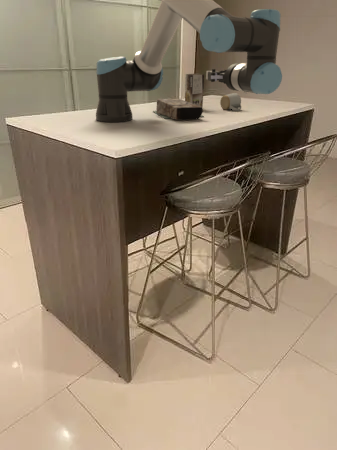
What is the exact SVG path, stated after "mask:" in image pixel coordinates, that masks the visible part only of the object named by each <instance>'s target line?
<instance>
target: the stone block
mask: <svg viewBox="0 0 337 450" xmlns="http://www.w3.org/2000/svg"><path fill="white" fill-rule="evenodd" d="M155 111H157V112H156V113H157V114H160V115H164V116H167V117H170V118H173V120H178V121H179V120H180V121H181V120H183V121H185V120H186V121H187V120H199V119H200V118H202V117H201V115H203V111H204V107H203V108H202V107H199V106H197V105H194V104H192V103H189V102H187V101H185V99H181V98H157V99H156V110H155ZM156 113H155V114H156ZM157 114H156V115H157Z"/></svg>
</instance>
